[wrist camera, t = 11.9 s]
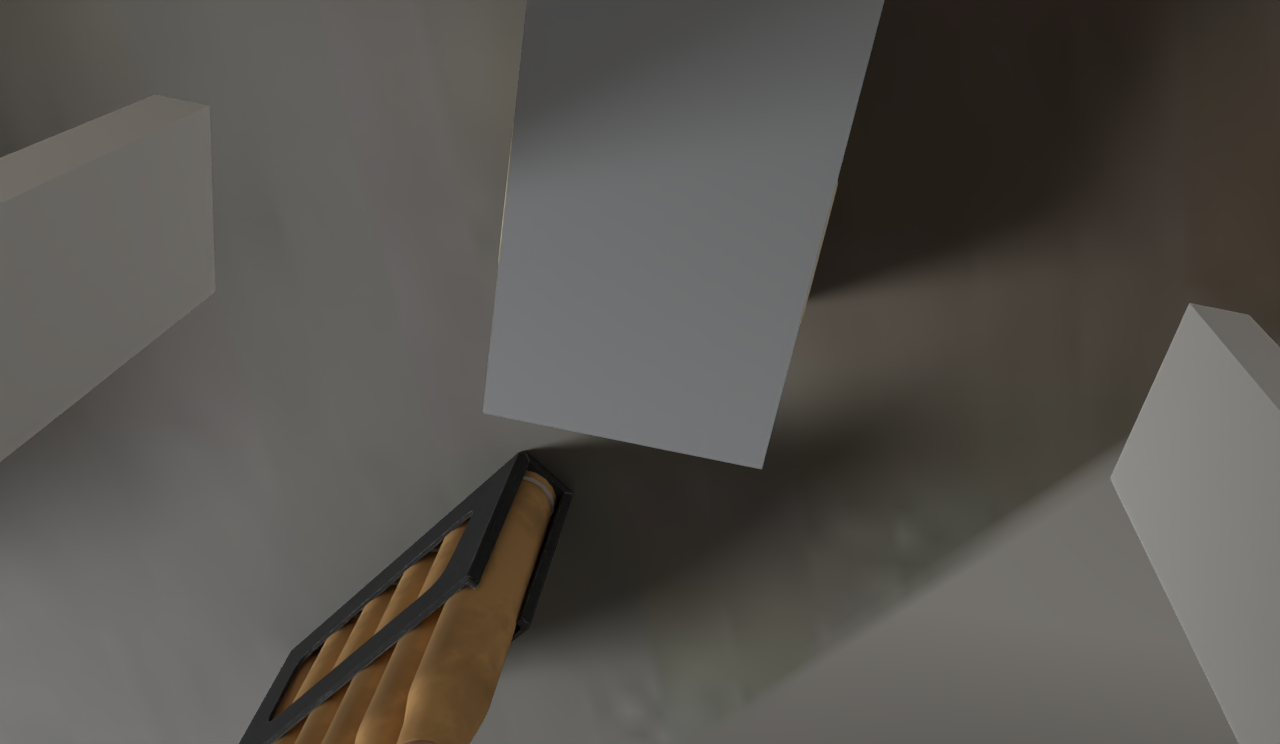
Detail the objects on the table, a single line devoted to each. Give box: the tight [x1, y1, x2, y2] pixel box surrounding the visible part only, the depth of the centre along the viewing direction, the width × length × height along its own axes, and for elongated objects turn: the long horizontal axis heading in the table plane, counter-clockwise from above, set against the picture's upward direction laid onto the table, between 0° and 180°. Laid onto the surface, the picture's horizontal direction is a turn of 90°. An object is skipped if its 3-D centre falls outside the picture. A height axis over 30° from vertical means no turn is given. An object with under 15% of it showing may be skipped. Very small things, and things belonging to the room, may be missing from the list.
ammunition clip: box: [239, 453, 573, 744], centre depth 24 cm, size 11×2×12 cm, turn 135°
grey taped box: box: [483, 0, 884, 469], centre depth 20 cm, size 5×8×7 cm, turn 171°
